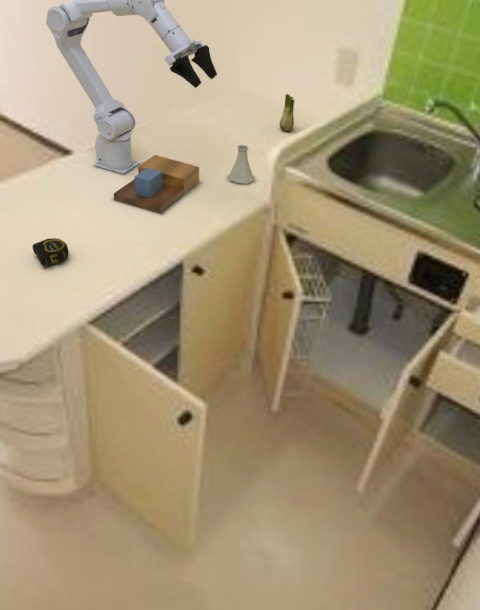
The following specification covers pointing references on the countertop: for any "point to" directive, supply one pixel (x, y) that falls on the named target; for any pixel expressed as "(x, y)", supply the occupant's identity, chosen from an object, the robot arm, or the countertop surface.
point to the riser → (174, 180)
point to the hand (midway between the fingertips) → (206, 81)
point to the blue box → (148, 182)
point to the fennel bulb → (287, 114)
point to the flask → (241, 167)
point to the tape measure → (51, 251)
